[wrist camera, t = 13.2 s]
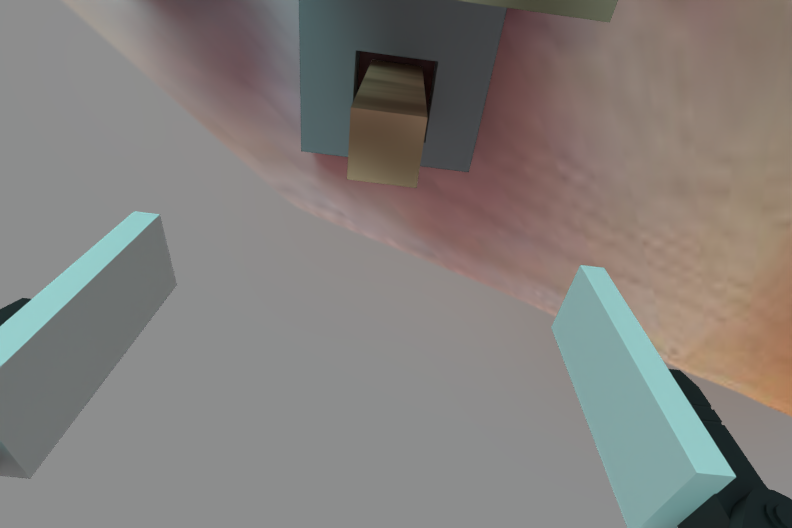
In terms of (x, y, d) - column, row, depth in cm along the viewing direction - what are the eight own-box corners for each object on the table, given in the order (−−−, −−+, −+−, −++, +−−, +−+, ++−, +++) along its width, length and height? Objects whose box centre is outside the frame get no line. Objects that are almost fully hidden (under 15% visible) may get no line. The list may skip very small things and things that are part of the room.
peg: (414, 117, 35) (416, 187, 24) (368, 111, 35) (346, 179, 24) (422, 66, 33) (427, 117, 21) (372, 59, 33) (350, 107, 21)
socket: (507, -32, 29) (516, -32, 27) (465, 158, 37) (468, 172, 35) (307, -62, 28) (297, -64, 26) (308, 139, 37) (301, 151, 34)
